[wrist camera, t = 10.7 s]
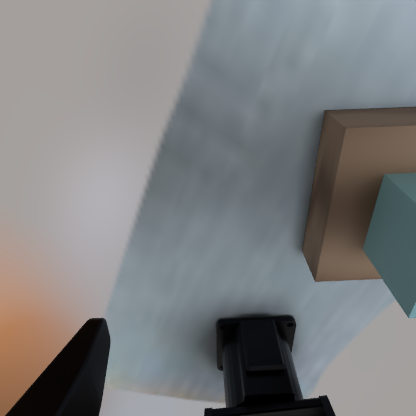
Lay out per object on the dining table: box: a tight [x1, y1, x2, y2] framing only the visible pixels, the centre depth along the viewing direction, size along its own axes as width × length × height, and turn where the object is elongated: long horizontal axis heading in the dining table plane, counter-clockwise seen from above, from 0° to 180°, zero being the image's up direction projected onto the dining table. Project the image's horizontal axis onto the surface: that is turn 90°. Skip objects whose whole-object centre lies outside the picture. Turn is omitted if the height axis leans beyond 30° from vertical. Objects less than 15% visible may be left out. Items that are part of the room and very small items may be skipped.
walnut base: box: [302, 107, 416, 282], centre depth 20 cm, size 10×10×3 cm
